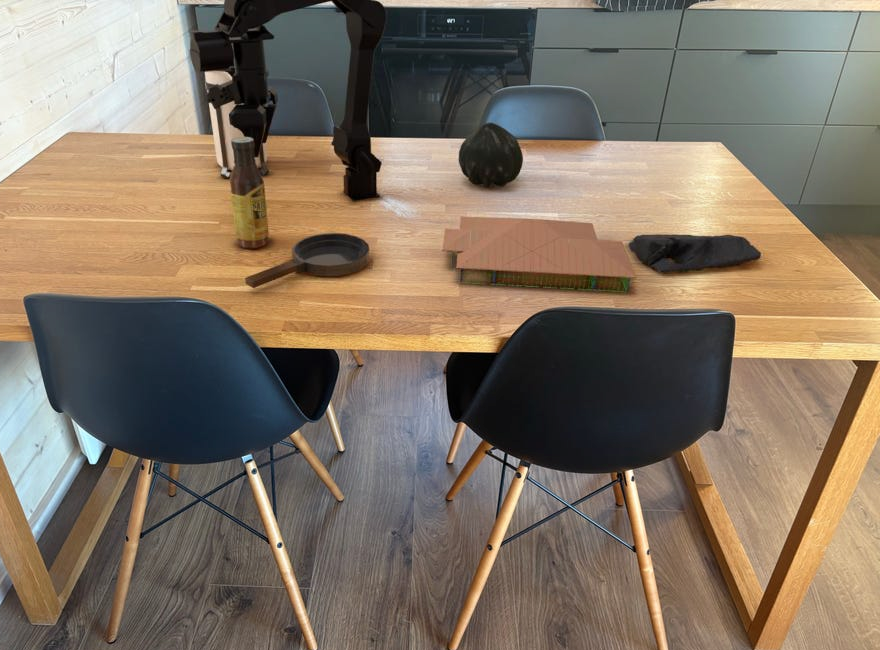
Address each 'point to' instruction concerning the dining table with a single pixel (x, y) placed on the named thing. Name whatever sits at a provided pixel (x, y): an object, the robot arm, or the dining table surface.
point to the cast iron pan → (332, 254)
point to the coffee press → (228, 127)
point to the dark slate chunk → (692, 251)
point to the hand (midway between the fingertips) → (259, 149)
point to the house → (536, 249)
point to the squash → (490, 156)
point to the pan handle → (276, 273)
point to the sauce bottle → (248, 196)
